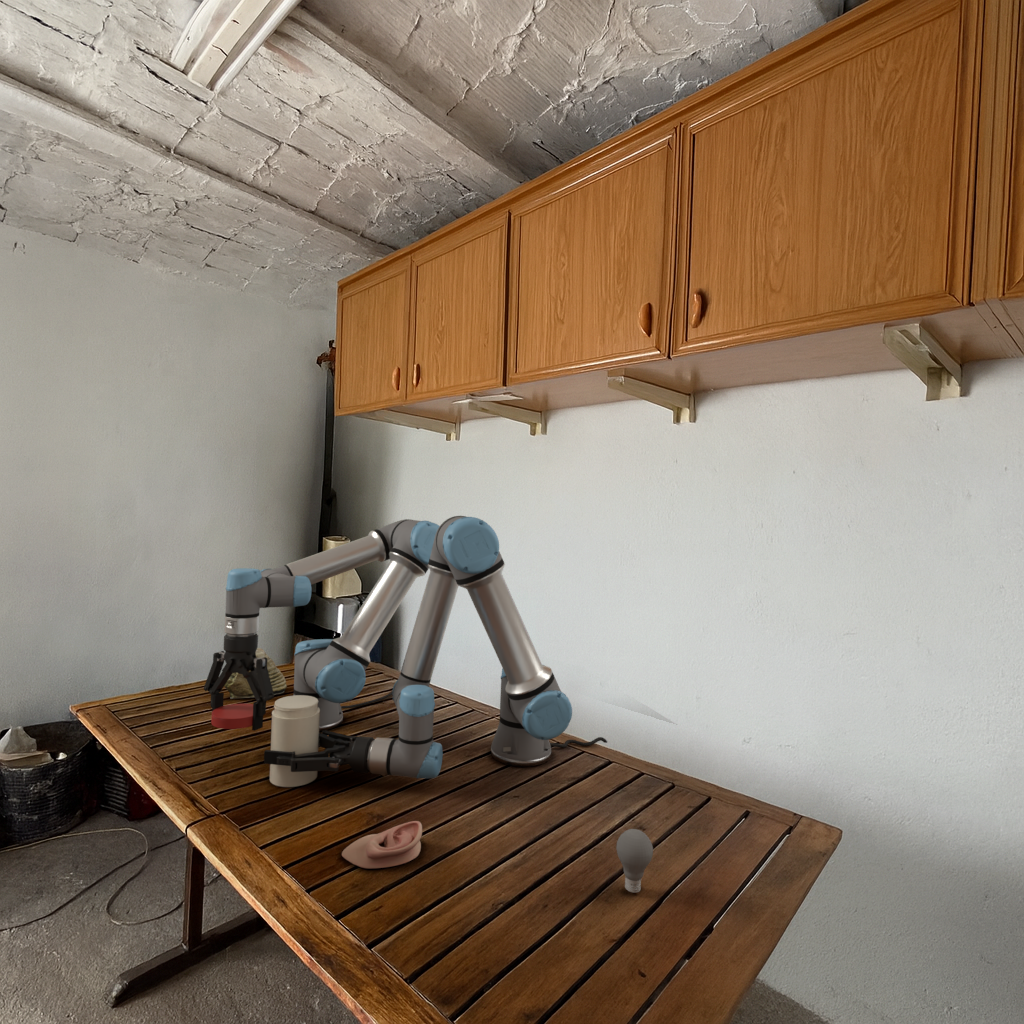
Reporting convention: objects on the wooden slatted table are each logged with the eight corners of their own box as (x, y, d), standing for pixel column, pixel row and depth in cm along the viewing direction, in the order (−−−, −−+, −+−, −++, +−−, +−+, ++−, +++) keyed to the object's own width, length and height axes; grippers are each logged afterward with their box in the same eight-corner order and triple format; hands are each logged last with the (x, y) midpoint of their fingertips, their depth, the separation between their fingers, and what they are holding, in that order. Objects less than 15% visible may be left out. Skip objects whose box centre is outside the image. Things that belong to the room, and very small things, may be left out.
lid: (271, 716, 156) (271, 706, 156) (243, 731, 145) (243, 721, 145) (231, 710, 158) (231, 701, 158) (200, 725, 147) (201, 715, 147)
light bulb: (610, 879, 108) (613, 822, 108) (644, 879, 109) (647, 822, 109) (619, 902, 102) (622, 840, 102) (655, 901, 103) (658, 840, 103)
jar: (264, 787, 137) (267, 709, 136) (274, 767, 147) (277, 694, 146) (314, 786, 138) (317, 708, 138) (320, 766, 149) (322, 694, 148)
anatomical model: (334, 840, 110) (362, 809, 121) (333, 863, 110) (362, 830, 121) (406, 852, 107) (429, 819, 118) (405, 875, 107) (428, 840, 118)
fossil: (218, 695, 195) (220, 647, 195) (278, 685, 208) (279, 640, 207) (228, 703, 189) (230, 653, 188) (289, 692, 201) (290, 645, 201)
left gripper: (189, 630, 151) (185, 722, 151) (271, 642, 144) (267, 738, 144) (213, 625, 158) (209, 712, 159) (292, 636, 151) (288, 727, 151)
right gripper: (353, 795, 129) (250, 785, 132) (386, 752, 152) (298, 744, 154) (354, 759, 129) (251, 750, 131) (388, 720, 152) (299, 713, 154)
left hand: (236, 724), depth 151 cm, fingers closed on lid, 11 cm apart
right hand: (276, 747), depth 143 cm, fingers closed on jar, 10 cm apart
